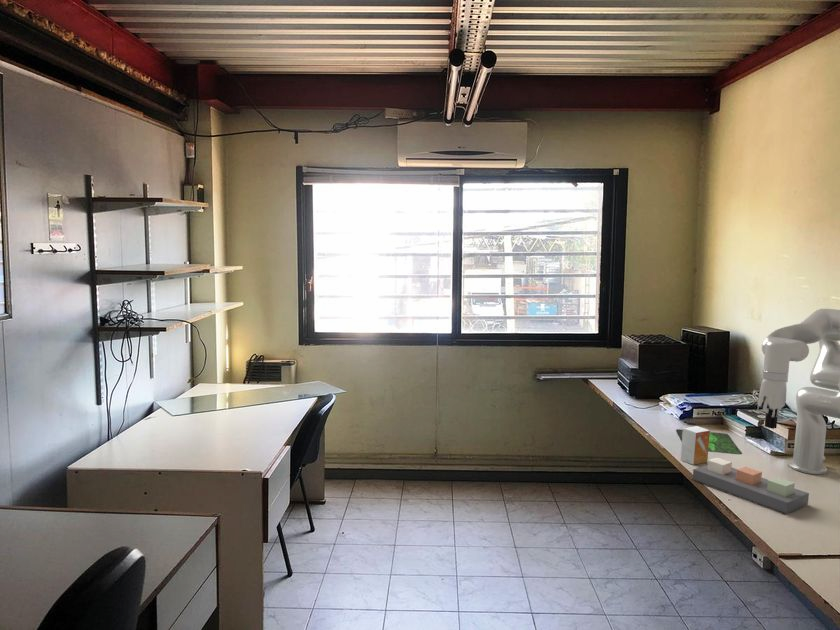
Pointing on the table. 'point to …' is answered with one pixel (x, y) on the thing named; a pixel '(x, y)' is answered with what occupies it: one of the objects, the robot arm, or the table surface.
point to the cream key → (719, 466)
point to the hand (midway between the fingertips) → (770, 427)
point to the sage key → (781, 486)
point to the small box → (695, 445)
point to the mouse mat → (718, 443)
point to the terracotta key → (748, 476)
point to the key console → (751, 490)
